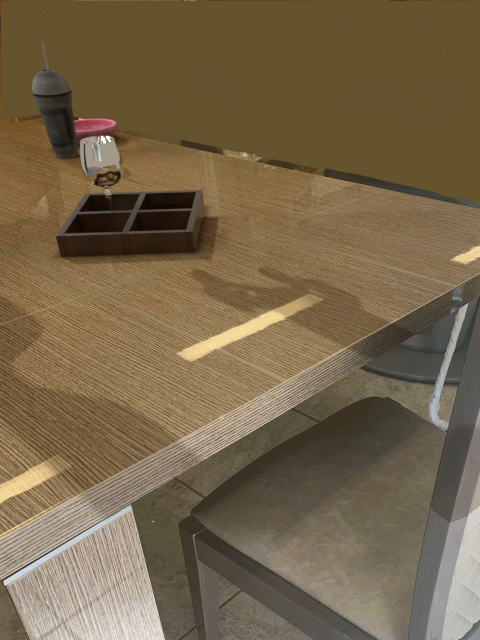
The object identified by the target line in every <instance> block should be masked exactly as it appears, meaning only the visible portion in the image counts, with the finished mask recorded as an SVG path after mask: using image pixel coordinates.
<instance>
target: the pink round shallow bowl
mask: <svg viewBox="0 0 480 640" xmlns="http://www.w3.org/2000/svg"><path fill="white" fill-rule="evenodd" d="M74 125H75V132H76V139H77V145H80V140H82V139H84V138H87V137H93V136H110V137H113V136H114V134H115V133H116V131H117V129H118V124H117V121H116V120H113V119H108V118H83V119H75V120H74Z"/></svg>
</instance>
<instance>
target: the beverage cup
mask: <svg viewBox="0 0 480 640" xmlns="http://www.w3.org/2000/svg"><path fill="white" fill-rule="evenodd" d="M41 47H42V52H43V58H44V63H45V67H46V69H41V70H39V71H38V72H37V73H36V74H35V75H34V77H33V79H32V83H31V90H32V96H33V98H34V101H35V104H36V107H38V109H39V113H40V115H41V119H42V122H43V125H44V127H45V131H46V134H47V136H48V140H49V143H50V146H51V149H52V151H53V154H54V156H55V158H57V159H70V158H69V157H72V158H74V157H73V156H76V155H78V156H79V151H78V149H79V148H78V144H77V139H76V132H75V125H74V121H75V120H74V119H75V117H74V112H73V96H72V89H71V86H70V84H69V82H68V81H67V78H65V76H64V75H63V74H62V73H60V72H59V71H57V70H54V69H51V68H50V64H49V60H48V55H47V54H48V53H47V49H46V43H45V42H42V43H41ZM76 157H77V156H76Z"/></svg>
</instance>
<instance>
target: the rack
mask: <svg viewBox="0 0 480 640" xmlns="http://www.w3.org/2000/svg"><path fill="white" fill-rule="evenodd" d="M111 193H112V207H113V211H110V208H109V204H108V201H107V198H106V197H105V192H89V193H84V195H83V196H82V198H80V200H79V202H78V203H77V204H76V207H75V208H74V209H73V210H72V212H71V213H70V215H69V217H68V218H67V219H66V221H65V222H64V224H63V225H62V226H61V228H60V229H59V231H58V232H57V234H56V235H55V239H56V242H57V247H58V250H59V254H60V257H64V258H65V257H86V256H87V257H88V256H89V257H92V256H115V255H116V256H120V255H121V256H122V255H147V254H148V255H150V254H151V255H152V254H172V253H173V254H174V253H175V254H176V253H178V254H179V253H196V249H197V245H198V240H199V236H200V232H201V231H200V230H201V226H202V221H203V218H206V209H205V201H204V192H203V189H189V190H187V189H185V190H154V191H153V190H151V191H125V192H124V191H122V192H121V191H120V192H111Z"/></svg>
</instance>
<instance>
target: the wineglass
mask: <svg viewBox="0 0 480 640" xmlns="http://www.w3.org/2000/svg"><path fill="white" fill-rule="evenodd" d="M79 161H80V168H81V171H82V174H83V176H84V178H85V179H86V180H87V182H89V183H90V184H92V185H93V186H95V187H99V188H104V191H103V193H105V197H106V198H107V201H108V204H109V208H110V211H113V207H112V193H113V192H112V191H111V190H112V189H110V188H111V187H113V186H115V185H116V184H118V183H119V182H121V180H122V178H123V176H124V162H123V158H122V154H121V152H120V149H119V147H118V145H117V142H116V140H115V137H113V136H112V137H110V136H93V137H87V138H84V139H82V140H80V144H79Z"/></svg>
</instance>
